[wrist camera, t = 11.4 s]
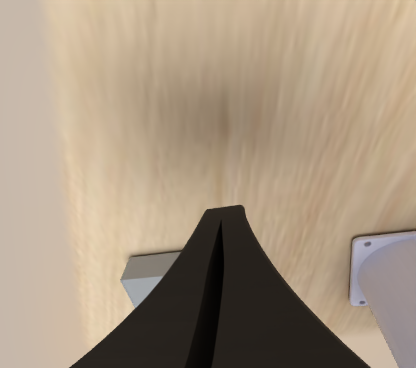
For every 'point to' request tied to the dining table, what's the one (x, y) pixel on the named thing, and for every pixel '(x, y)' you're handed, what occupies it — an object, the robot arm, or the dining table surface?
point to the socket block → (145, 274)
